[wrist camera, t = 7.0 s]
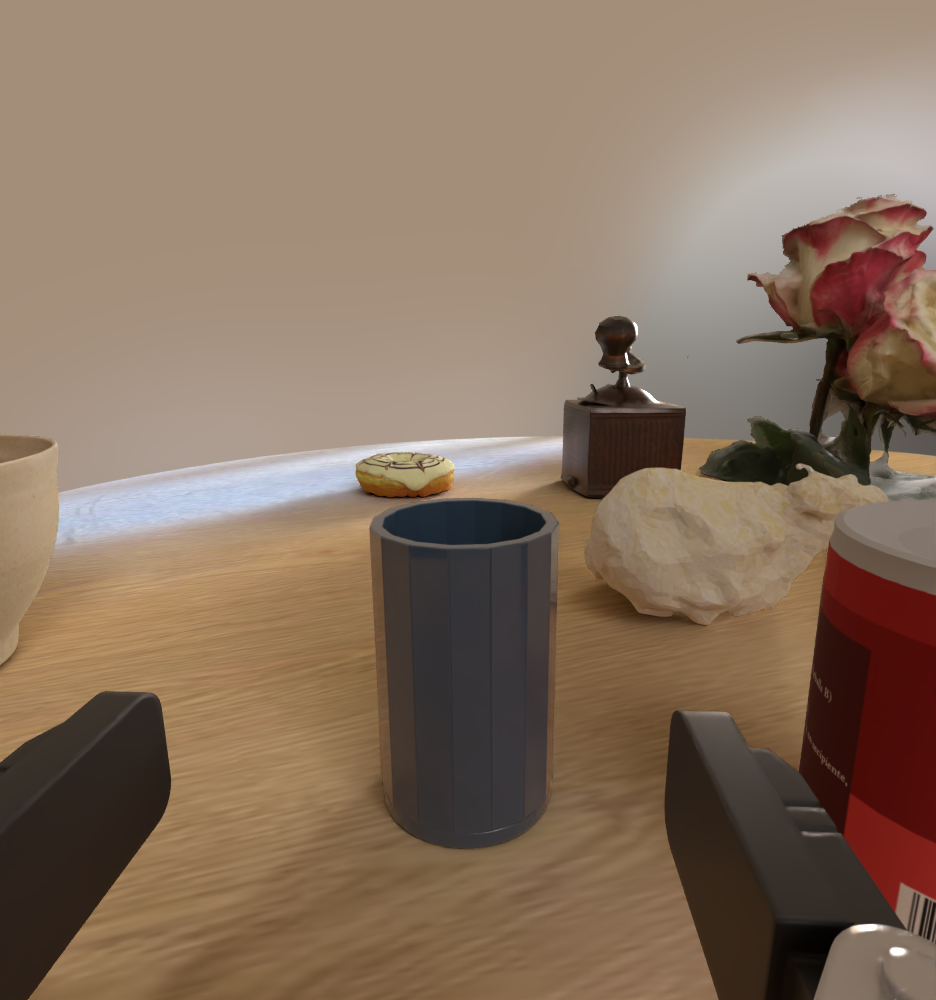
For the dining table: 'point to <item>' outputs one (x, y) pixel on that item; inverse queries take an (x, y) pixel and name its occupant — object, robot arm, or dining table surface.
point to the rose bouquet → (851, 348)
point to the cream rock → (714, 539)
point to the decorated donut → (405, 474)
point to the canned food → (879, 700)
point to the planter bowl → (25, 526)
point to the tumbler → (465, 666)
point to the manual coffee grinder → (618, 422)
